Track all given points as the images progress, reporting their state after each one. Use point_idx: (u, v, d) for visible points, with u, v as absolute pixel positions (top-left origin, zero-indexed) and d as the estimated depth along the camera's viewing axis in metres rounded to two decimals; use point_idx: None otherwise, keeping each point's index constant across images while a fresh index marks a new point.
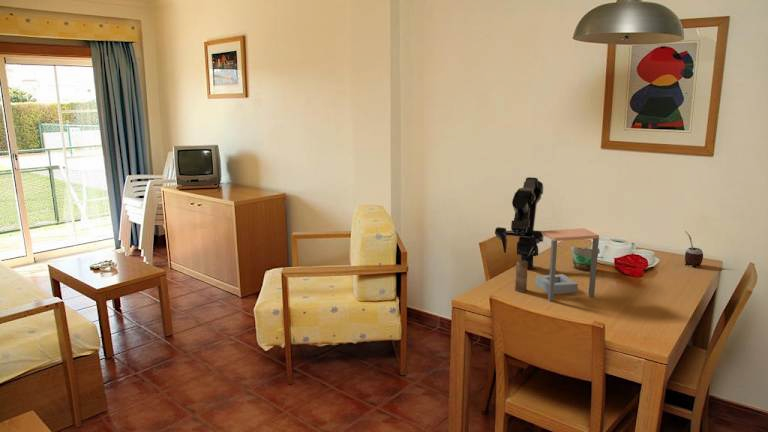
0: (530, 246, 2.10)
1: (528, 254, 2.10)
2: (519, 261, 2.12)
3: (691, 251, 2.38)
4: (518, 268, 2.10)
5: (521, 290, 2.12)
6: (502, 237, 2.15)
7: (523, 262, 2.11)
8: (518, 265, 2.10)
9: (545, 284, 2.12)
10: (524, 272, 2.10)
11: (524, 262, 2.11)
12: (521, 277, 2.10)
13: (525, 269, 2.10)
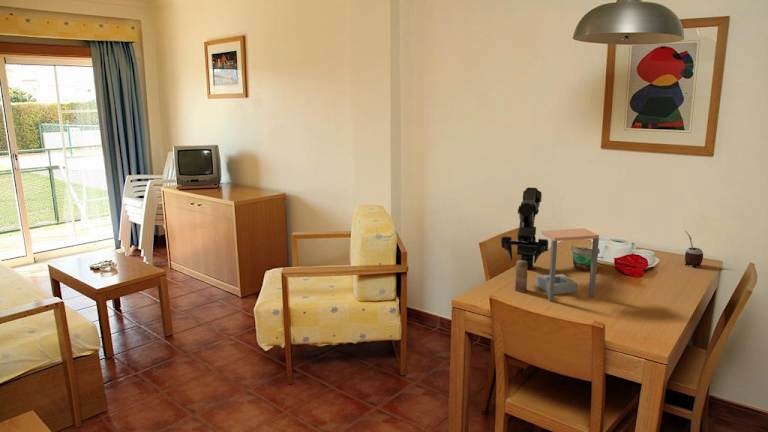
0: (536, 253, 2.14)
1: (535, 261, 2.13)
2: (519, 261, 2.12)
3: (691, 251, 2.38)
4: (518, 268, 2.10)
5: (521, 290, 2.12)
6: (508, 245, 2.18)
7: (523, 262, 2.11)
8: (518, 265, 2.10)
9: (545, 284, 2.12)
10: (524, 272, 2.10)
11: (524, 262, 2.10)
12: (521, 277, 2.10)
13: (525, 269, 2.10)
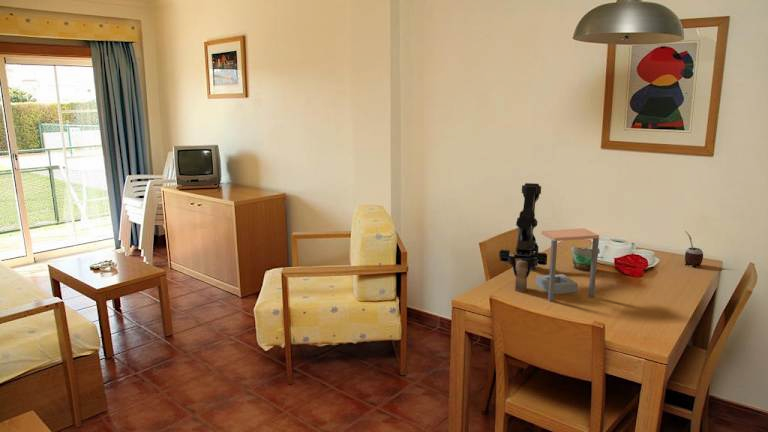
0: (529, 267, 2.11)
1: (527, 275, 2.10)
2: (519, 261, 2.12)
3: (691, 251, 2.38)
4: (518, 268, 2.10)
5: (521, 290, 2.12)
6: (512, 259, 2.14)
7: (523, 262, 2.10)
8: (518, 265, 2.10)
9: (545, 284, 2.12)
10: (524, 272, 2.10)
11: (524, 262, 2.10)
12: (521, 277, 2.10)
13: (525, 269, 2.10)
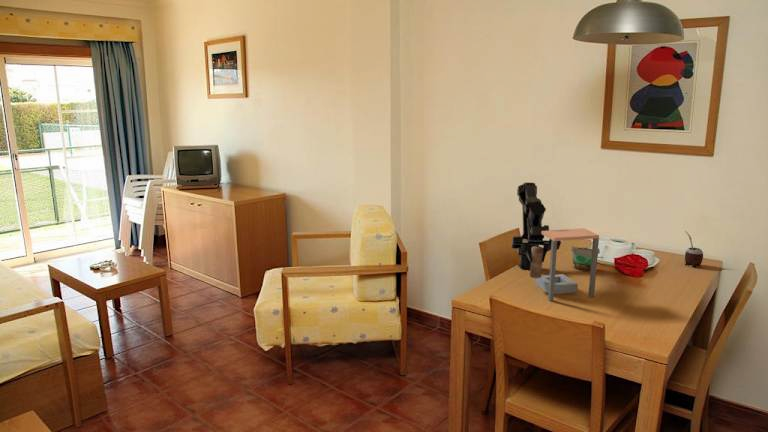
0: (544, 252, 2.10)
1: (543, 260, 2.09)
2: (534, 247, 2.10)
3: (691, 251, 2.38)
4: (534, 254, 2.09)
5: (537, 276, 2.10)
6: (526, 245, 2.12)
7: (538, 248, 2.09)
8: (534, 251, 2.08)
9: (545, 284, 2.12)
10: (540, 258, 2.09)
11: (539, 248, 2.09)
12: (537, 263, 2.09)
13: (541, 255, 2.09)
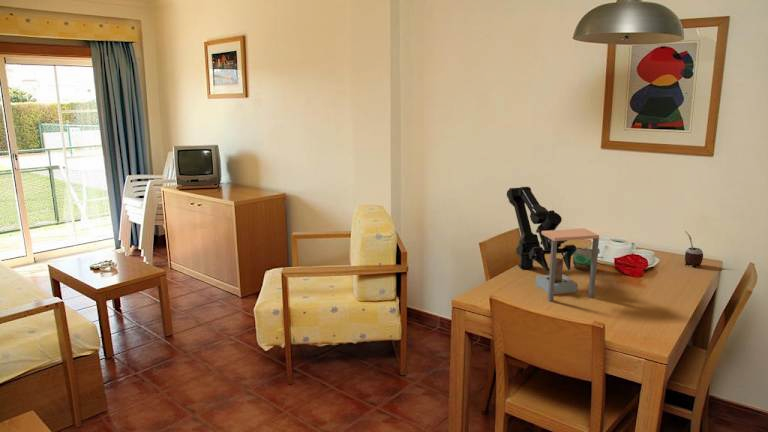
0: (569, 260, 2.14)
1: None
2: None
3: (691, 251, 2.38)
4: (556, 266, 2.12)
5: None
6: (542, 255, 2.13)
7: (559, 260, 2.13)
8: (556, 263, 2.12)
9: (545, 284, 2.12)
10: (562, 269, 2.13)
11: (560, 260, 2.13)
12: (559, 275, 2.12)
13: (562, 266, 2.13)
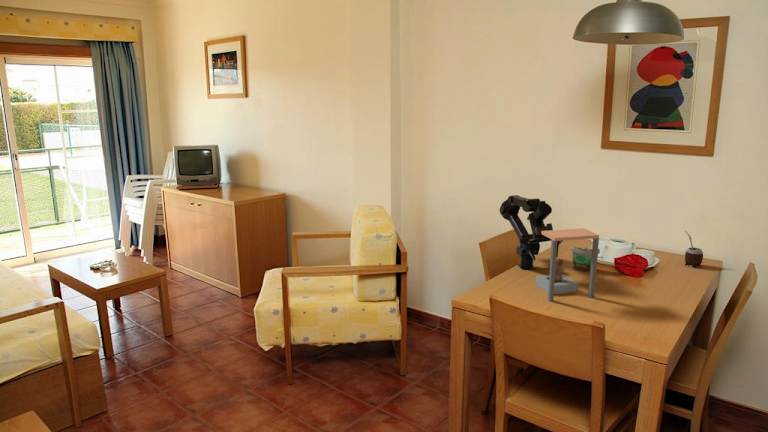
0: None
1: (557, 255, 2.22)
2: None
3: (691, 251, 2.38)
4: (556, 266, 2.12)
5: None
6: (528, 246, 2.23)
7: (559, 260, 2.13)
8: (556, 263, 2.12)
9: (545, 284, 2.12)
10: (562, 269, 2.13)
11: (560, 260, 2.13)
12: (559, 275, 2.12)
13: (562, 266, 2.13)
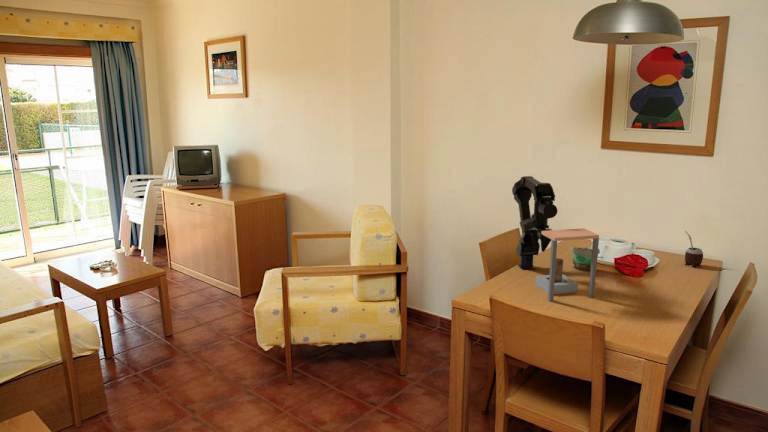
0: (541, 243, 2.19)
1: None
2: None
3: (691, 251, 2.38)
4: (556, 266, 2.12)
5: None
6: (529, 231, 2.30)
7: (559, 260, 2.13)
8: (556, 263, 2.12)
9: (545, 284, 2.12)
10: (562, 269, 2.13)
11: (560, 260, 2.13)
12: (559, 275, 2.12)
13: (562, 266, 2.13)
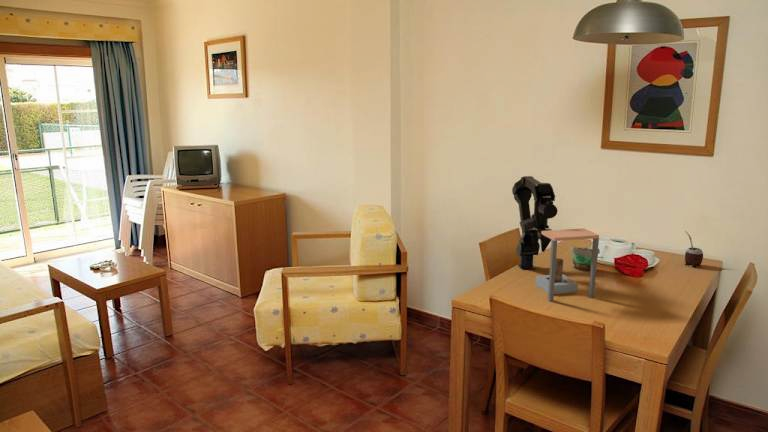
0: (541, 244, 2.19)
1: None
2: None
3: (691, 251, 2.38)
4: (556, 266, 2.12)
5: None
6: (529, 231, 2.30)
7: (559, 260, 2.13)
8: (556, 263, 2.12)
9: (545, 284, 2.12)
10: (562, 269, 2.13)
11: (560, 260, 2.13)
12: (559, 275, 2.12)
13: (562, 266, 2.13)
